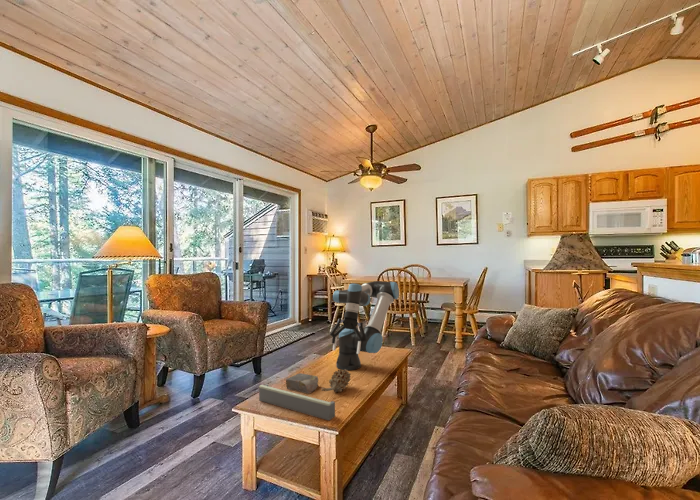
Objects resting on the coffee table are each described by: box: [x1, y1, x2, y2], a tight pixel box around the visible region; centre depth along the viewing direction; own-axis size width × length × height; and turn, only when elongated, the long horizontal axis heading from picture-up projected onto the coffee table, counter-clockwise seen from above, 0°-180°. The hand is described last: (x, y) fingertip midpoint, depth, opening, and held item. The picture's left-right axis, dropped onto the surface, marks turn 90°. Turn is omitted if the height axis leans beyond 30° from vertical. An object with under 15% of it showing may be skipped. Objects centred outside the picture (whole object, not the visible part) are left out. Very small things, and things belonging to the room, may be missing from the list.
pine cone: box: [320, 369, 351, 393], centre depth 164 cm, size 22×10×10 cm, turn 153°
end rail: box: [258, 383, 336, 421], centre depth 148 cm, size 5×40×7 cm, turn 60°
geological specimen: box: [285, 373, 319, 395], centre depth 171 cm, size 11×6×15 cm
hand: (346, 352), depth 173 cm, fingers open, 13 cm apart
